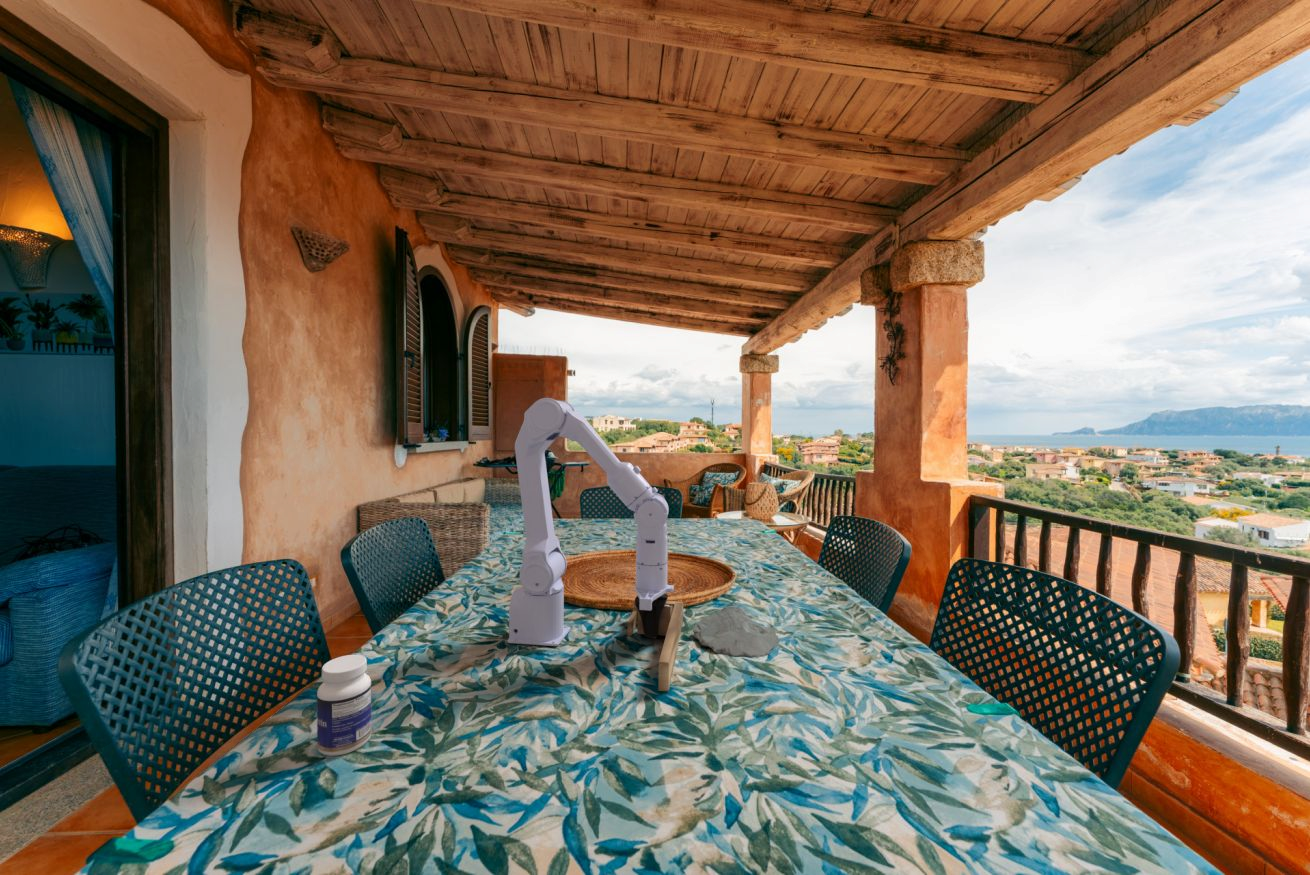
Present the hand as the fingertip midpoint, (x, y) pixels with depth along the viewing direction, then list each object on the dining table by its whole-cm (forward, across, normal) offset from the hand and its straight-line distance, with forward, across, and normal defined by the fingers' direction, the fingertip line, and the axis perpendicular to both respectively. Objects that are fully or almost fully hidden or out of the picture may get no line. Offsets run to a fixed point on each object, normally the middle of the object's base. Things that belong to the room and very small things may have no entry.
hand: (651, 636), depth 92 cm
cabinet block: (0, +2, 0) cm, 3 cm away
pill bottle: (+1, -35, +33) cm, 48 cm away
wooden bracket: (+1, -3, 0) cm, 3 cm away
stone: (+2, +4, -15) cm, 16 cm away
